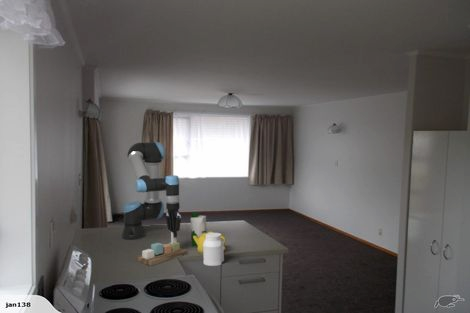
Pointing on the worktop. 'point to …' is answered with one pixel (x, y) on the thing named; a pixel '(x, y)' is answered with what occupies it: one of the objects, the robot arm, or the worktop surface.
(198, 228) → the milk carton
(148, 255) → the key cream
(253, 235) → the worktop surface
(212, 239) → the jar
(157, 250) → the key teal
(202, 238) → the teapot
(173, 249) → the key olive
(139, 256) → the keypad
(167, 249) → the key terracotta
